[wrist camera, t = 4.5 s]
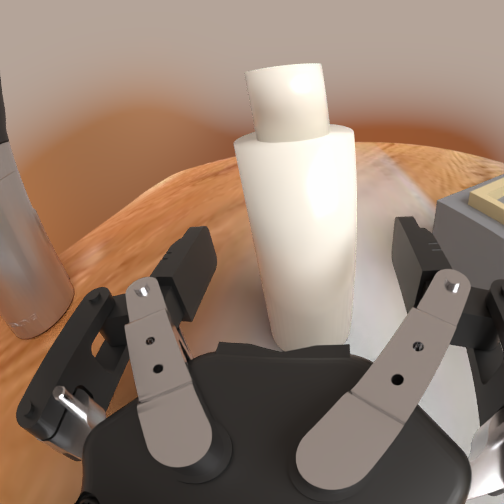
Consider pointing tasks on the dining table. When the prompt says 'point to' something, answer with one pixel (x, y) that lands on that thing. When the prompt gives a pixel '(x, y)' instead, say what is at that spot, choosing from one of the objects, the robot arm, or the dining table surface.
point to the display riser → (473, 231)
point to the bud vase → (300, 205)
